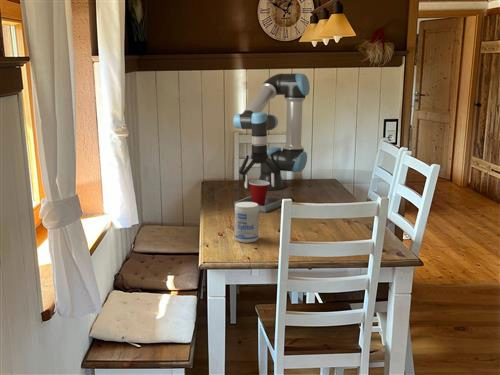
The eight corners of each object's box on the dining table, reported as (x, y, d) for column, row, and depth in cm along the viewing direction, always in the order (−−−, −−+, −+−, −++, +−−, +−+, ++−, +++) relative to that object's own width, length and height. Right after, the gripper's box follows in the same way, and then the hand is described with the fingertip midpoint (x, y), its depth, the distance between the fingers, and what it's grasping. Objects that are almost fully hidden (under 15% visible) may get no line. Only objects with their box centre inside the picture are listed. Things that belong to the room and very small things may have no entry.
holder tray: (253, 200, 281) (253, 195, 281) (283, 205, 272) (283, 199, 271) (234, 208, 267) (234, 202, 266) (265, 213, 257) (265, 206, 256)
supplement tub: (236, 244, 212) (236, 207, 208) (232, 236, 221) (232, 202, 218) (260, 242, 213) (260, 206, 210) (256, 235, 223) (255, 200, 219)
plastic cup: (267, 208, 263) (267, 184, 260) (246, 207, 265) (246, 183, 262) (271, 202, 273) (271, 179, 271) (250, 201, 275) (250, 178, 273)
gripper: (281, 142, 269) (281, 184, 273) (232, 144, 264) (233, 186, 268) (286, 144, 261) (285, 187, 266) (235, 146, 256) (236, 190, 261)
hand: (259, 187), depth 267 cm, fingers open, 13 cm apart
